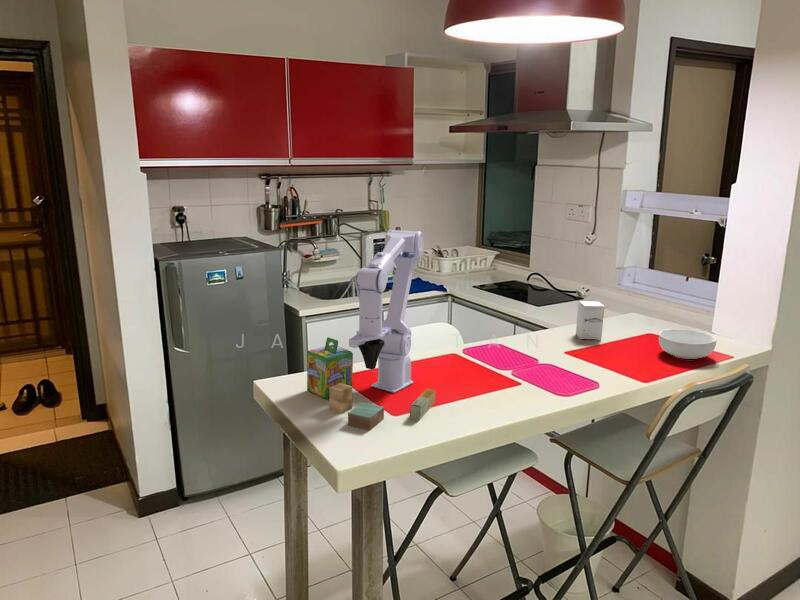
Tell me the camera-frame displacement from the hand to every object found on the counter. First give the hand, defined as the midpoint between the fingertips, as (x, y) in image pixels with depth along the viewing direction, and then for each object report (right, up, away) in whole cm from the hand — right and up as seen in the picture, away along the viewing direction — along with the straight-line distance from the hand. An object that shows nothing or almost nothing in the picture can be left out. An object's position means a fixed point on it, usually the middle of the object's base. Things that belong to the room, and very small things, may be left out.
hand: (370, 368), depth 152 cm
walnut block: (+1, -10, -4) cm, 11 cm away
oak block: (-8, -10, +1) cm, 13 cm away
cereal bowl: (+100, -1, +43) cm, 109 cm away
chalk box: (-12, -8, +12) cm, 19 cm away
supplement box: (+75, +4, +62) cm, 97 cm away
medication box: (+13, -11, 0) cm, 17 cm away
